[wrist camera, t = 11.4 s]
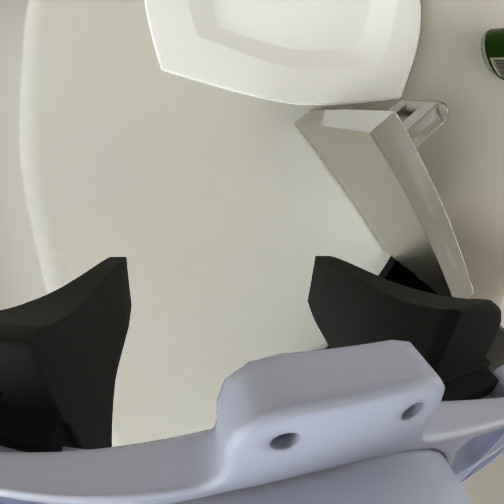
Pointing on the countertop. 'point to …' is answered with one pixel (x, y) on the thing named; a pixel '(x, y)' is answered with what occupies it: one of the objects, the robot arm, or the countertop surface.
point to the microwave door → (393, 185)
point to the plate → (290, 47)
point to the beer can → (494, 51)
